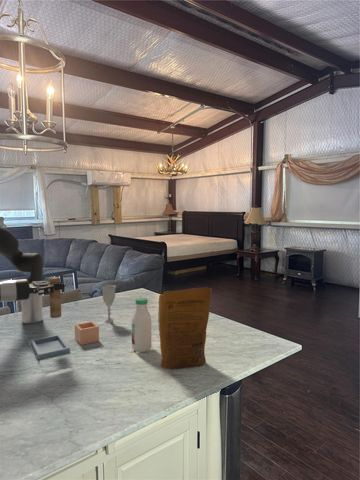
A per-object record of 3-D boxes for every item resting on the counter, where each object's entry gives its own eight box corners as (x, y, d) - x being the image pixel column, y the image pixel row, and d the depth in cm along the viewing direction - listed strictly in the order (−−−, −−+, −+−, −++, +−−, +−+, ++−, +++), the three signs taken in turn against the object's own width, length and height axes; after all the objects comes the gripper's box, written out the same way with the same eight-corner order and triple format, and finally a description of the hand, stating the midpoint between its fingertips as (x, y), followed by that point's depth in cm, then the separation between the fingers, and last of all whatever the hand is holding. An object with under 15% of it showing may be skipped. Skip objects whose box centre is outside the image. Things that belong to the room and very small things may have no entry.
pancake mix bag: (213, 368, 113) (214, 288, 111) (158, 373, 110) (158, 291, 107) (207, 359, 120) (209, 284, 118) (156, 363, 116) (156, 286, 114)
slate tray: (30, 346, 130) (30, 339, 130) (59, 340, 137) (59, 334, 136) (38, 361, 117) (38, 354, 117) (70, 354, 123) (69, 347, 123)
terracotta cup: (74, 340, 136) (74, 324, 135) (92, 337, 140) (92, 321, 140) (80, 347, 130) (80, 330, 129) (99, 343, 134) (98, 326, 133)
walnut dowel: (49, 315, 128) (48, 277, 126) (59, 314, 130) (58, 276, 128) (51, 318, 124) (50, 279, 123) (62, 316, 126) (61, 278, 125)
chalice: (112, 326, 153) (112, 288, 151) (99, 325, 154) (98, 288, 153) (118, 321, 160) (118, 285, 158) (105, 320, 161) (105, 284, 160)
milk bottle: (154, 346, 131) (154, 297, 129) (146, 354, 124) (146, 302, 122) (137, 343, 134) (137, 295, 132) (128, 351, 127) (127, 300, 125)
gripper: (16, 283, 112) (67, 278, 121) (10, 276, 124) (57, 272, 133) (17, 305, 112) (68, 298, 122) (11, 296, 124) (58, 290, 134)
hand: (62, 285), depth 128 cm, fingers closed on walnut dowel, 4 cm apart
